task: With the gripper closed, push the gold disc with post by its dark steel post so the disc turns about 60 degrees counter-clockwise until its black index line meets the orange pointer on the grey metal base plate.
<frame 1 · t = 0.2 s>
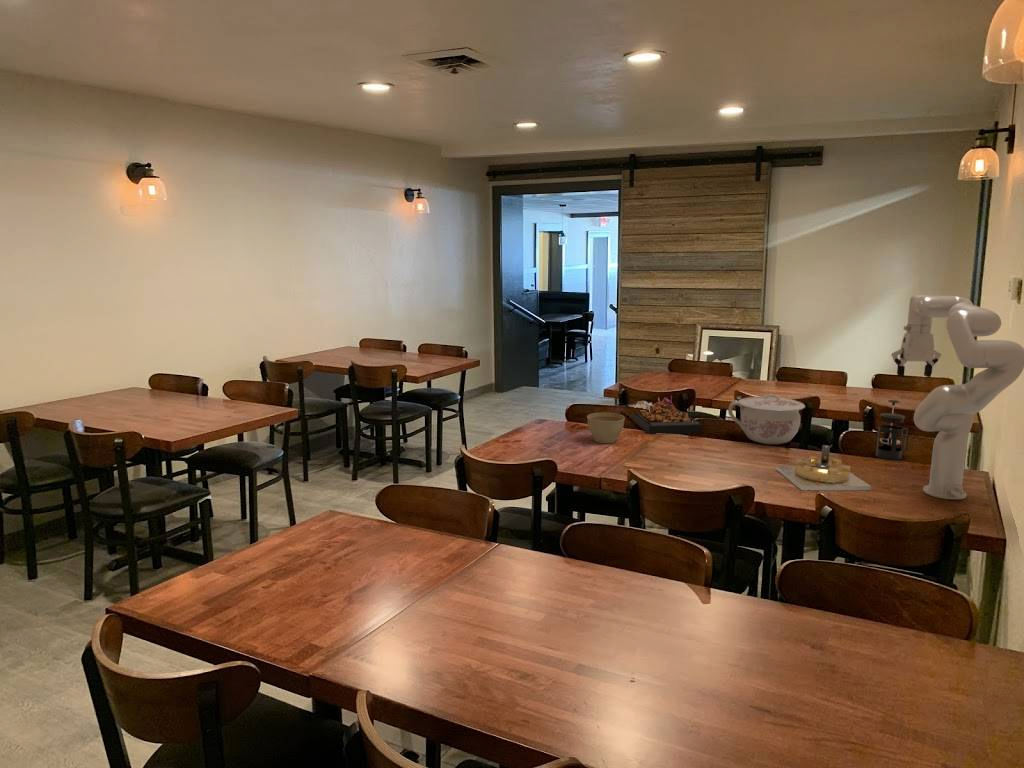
hand: (913, 376, 261), 36 cm above the table, tool pointing down, fingers open, 9 cm apart
food platter: (659, 423, 347), on the table
base plate: (821, 479, 260), on the table
gold disc with post: (822, 462, 259), point 6 cm above the table, hinge at 0.0°
french press: (889, 457, 288), on the table
chamber pot: (768, 441, 313), on the table
planter bowl: (605, 441, 313), on the table
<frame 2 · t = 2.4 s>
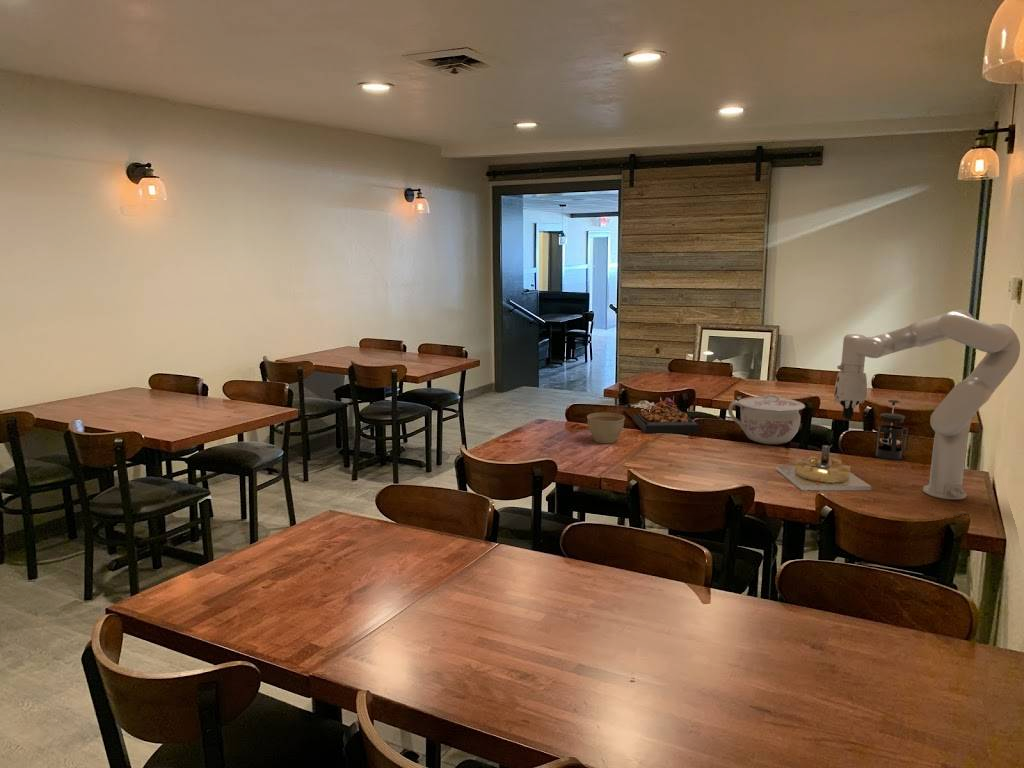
hand: (847, 418, 262), 21 cm above the table, tool pointing down, fingers closed
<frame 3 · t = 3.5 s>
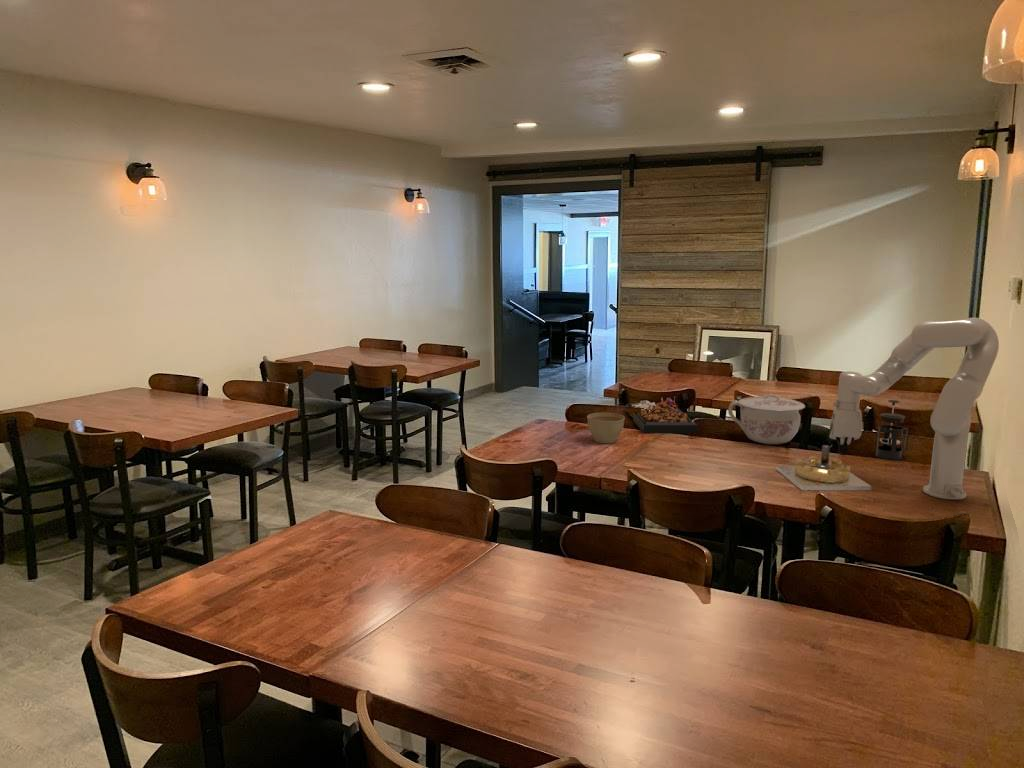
hand: (842, 454, 265), 8 cm above the table, tool pointing down, fingers closed
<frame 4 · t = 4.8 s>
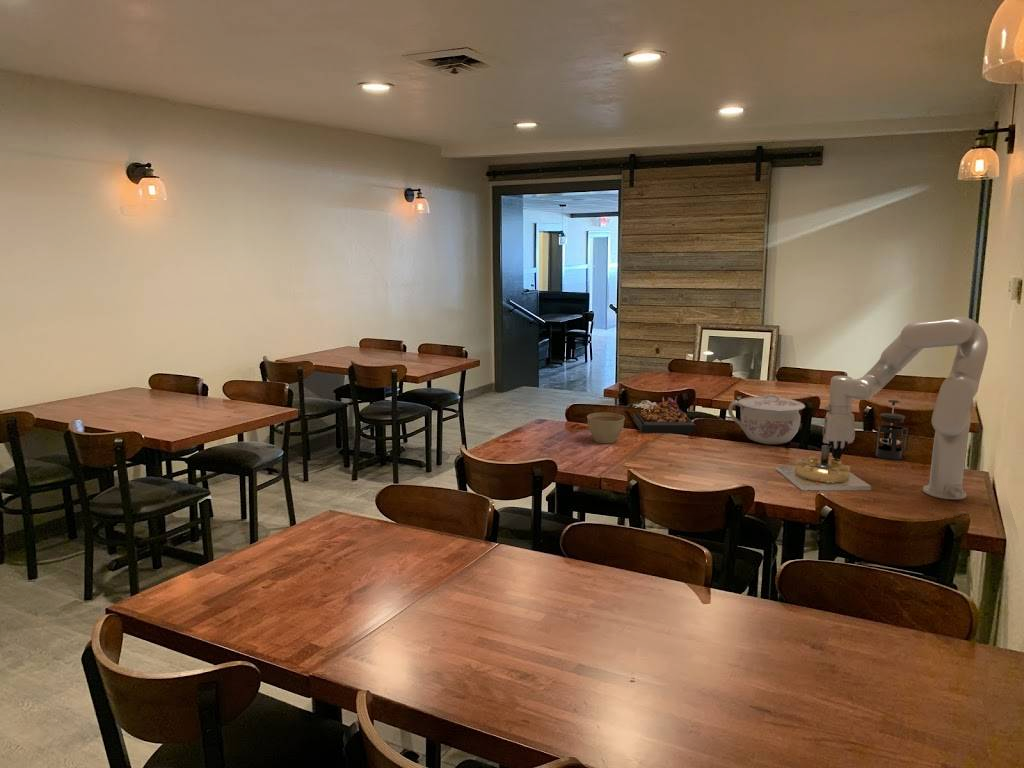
hand: (836, 458, 265), 6 cm above the table, tool pointing down, fingers closed
gold disc with post: (822, 462, 259), point 6 cm above the table, hinge at 0.9°, touching gripper
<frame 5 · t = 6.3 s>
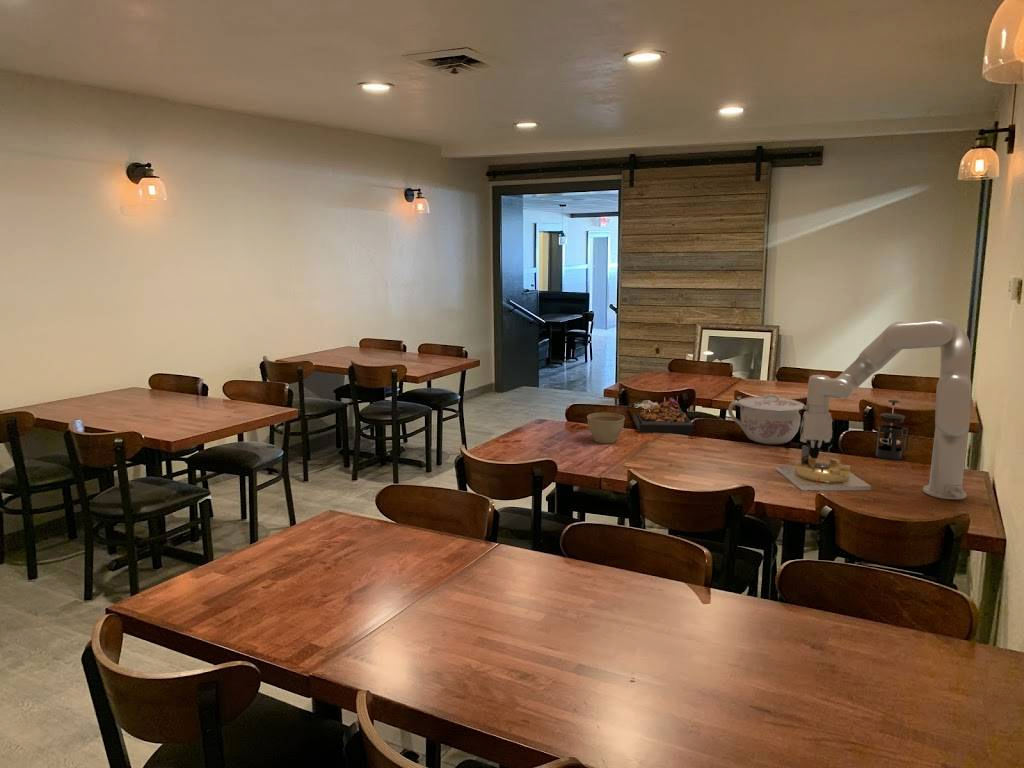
hand: (813, 457, 266), 6 cm above the table, tool pointing down, fingers closed
gold disc with post: (822, 462, 259), point 6 cm above the table, hinge at 65.9°, touching gripper
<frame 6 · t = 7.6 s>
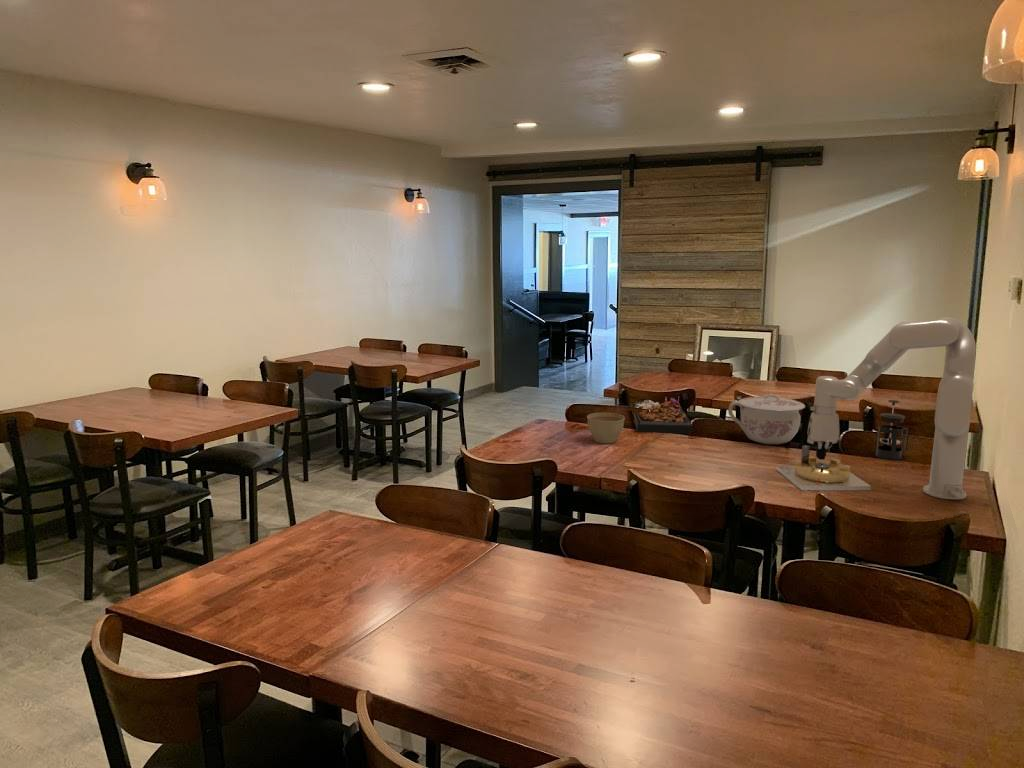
hand: (820, 458, 265), 6 cm above the table, tool pointing down, fingers closed
gold disc with post: (822, 462, 259), point 6 cm above the table, hinge at 64.7°
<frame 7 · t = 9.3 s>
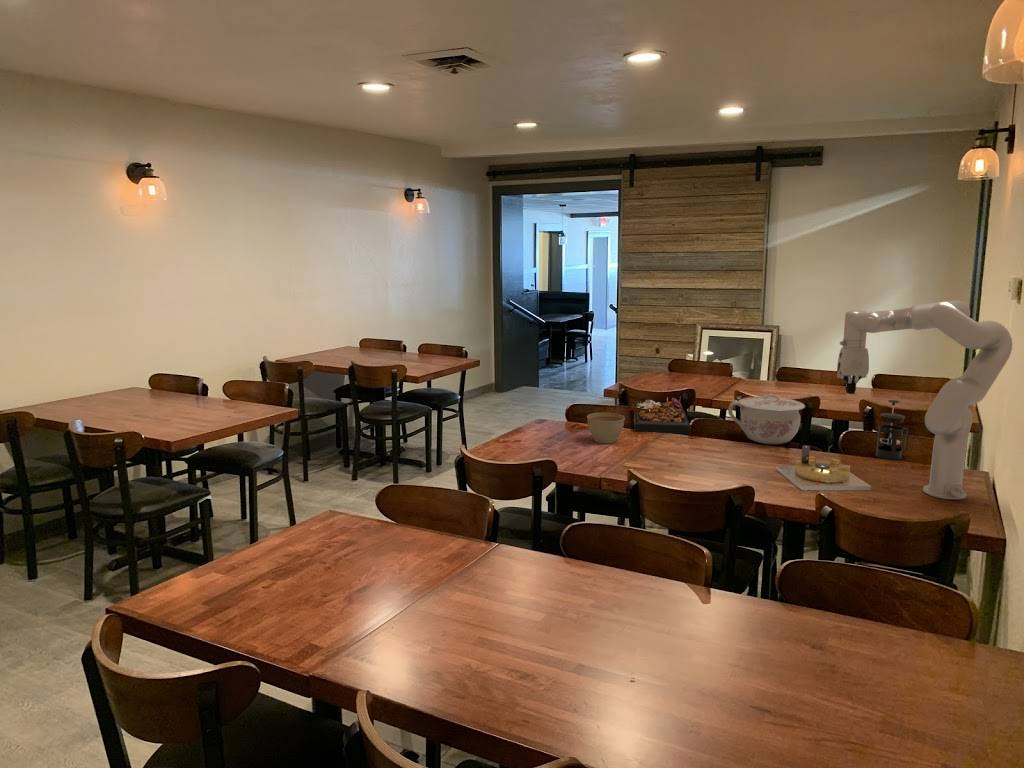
hand: (850, 393, 267), 29 cm above the table, tool pointing down, fingers closed
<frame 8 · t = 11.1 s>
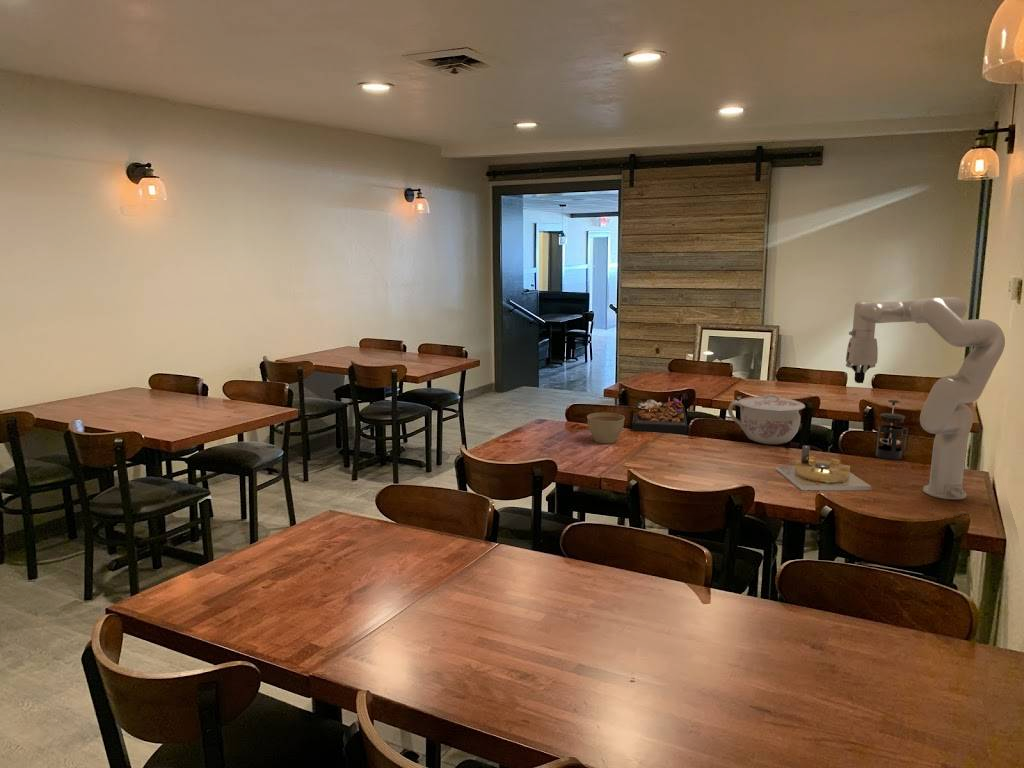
hand: (859, 382, 273), 32 cm above the table, tool pointing down, fingers closed
at the end: gold disc with post at +65° (first picture: +0°) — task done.
